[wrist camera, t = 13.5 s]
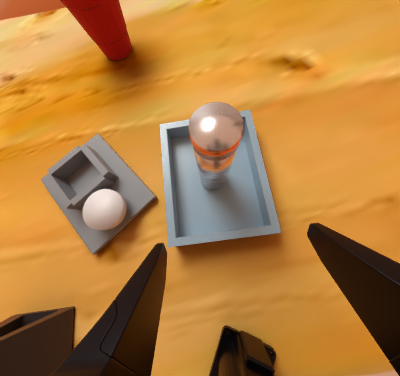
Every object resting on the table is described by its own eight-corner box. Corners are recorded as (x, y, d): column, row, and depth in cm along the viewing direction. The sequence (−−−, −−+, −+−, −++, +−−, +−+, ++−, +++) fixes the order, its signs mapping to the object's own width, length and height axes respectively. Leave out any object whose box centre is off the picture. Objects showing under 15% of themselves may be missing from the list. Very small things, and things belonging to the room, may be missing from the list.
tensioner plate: (157, 197, 25) (148, 192, 21) (97, 253, 23) (77, 257, 20) (101, 136, 28) (86, 123, 25) (46, 181, 27) (22, 174, 23)
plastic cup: (140, 26, 35) (104, -74, 23) (146, 62, 32) (109, -32, 20) (93, 38, 35) (35, -56, 23) (95, 74, 32) (30, -12, 21)
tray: (270, 231, 22) (281, 232, 19) (174, 244, 23) (168, 247, 19) (245, 124, 27) (250, 109, 23) (166, 137, 27) (159, 124, 24)
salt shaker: (209, 196, 23) (207, 160, 11) (195, 174, 24) (178, 118, 12) (231, 181, 24) (255, 130, 11) (216, 161, 25) (223, 92, 12)
